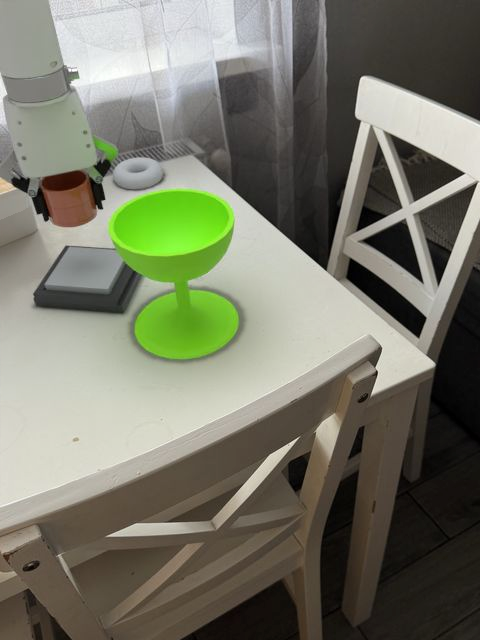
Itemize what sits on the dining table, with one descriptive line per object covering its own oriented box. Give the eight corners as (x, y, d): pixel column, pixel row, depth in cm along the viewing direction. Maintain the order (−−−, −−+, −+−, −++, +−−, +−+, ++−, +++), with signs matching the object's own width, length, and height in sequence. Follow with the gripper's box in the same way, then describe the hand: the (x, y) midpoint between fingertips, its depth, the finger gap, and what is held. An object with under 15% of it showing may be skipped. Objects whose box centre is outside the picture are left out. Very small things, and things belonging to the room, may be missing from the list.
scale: (35, 311, 91) (29, 293, 89) (67, 262, 100) (62, 245, 98) (123, 318, 90) (119, 300, 87) (147, 267, 99) (144, 250, 96)
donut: (126, 168, 125) (106, 190, 118) (123, 152, 122) (102, 174, 115) (171, 172, 123) (153, 195, 116) (169, 156, 120) (151, 179, 113)
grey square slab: (47, 292, 90) (44, 284, 89) (71, 254, 97) (69, 246, 96) (110, 297, 89) (108, 289, 88) (130, 258, 96) (128, 250, 95)
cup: (42, 226, 84) (30, 191, 80) (60, 201, 89) (50, 167, 85) (88, 228, 83) (78, 193, 80) (104, 204, 88) (95, 169, 84)
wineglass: (172, 281, 96) (155, 179, 83) (260, 309, 90) (256, 204, 78) (110, 342, 86) (81, 236, 73) (205, 378, 80) (190, 270, 68)
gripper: (101, 63, 78) (126, 186, 90) (-39, 85, 74) (8, 211, 86) (112, 82, 73) (137, 210, 85) (-37, 107, 69) (12, 238, 81)
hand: (72, 210), depth 86 cm, fingers closed on cup, 7 cm apart
